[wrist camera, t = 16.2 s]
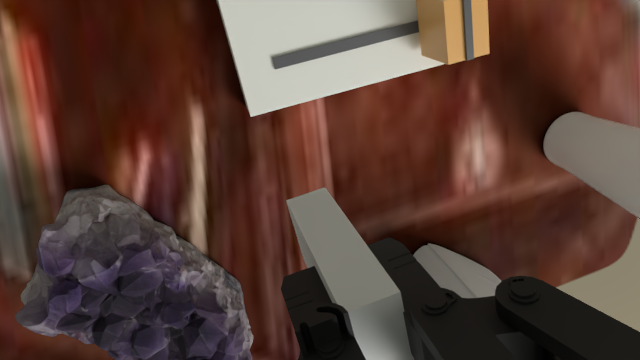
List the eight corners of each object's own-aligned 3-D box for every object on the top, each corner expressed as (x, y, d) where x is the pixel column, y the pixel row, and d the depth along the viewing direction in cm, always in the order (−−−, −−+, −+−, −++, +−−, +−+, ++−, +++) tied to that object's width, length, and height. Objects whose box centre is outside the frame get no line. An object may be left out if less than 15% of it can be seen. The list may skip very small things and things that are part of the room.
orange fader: (421, 55, 34) (450, 65, 30) (415, -2, 32) (445, 1, 29) (458, 45, 35) (491, 54, 31) (455, -12, 33) (488, -10, 29)
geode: (292, 277, 44) (309, 368, 35) (211, 348, 47) (209, 447, 38) (94, 150, 34) (53, 233, 26) (7, 249, 37) (-56, 353, 28)
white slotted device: (495, 268, 50) (582, 352, 39) (472, 300, 50) (550, 390, 40) (424, 234, 45) (499, 317, 34) (400, 269, 46) (465, 360, 35)
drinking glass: (574, 87, 43) (746, 138, 30) (606, 132, 46) (775, 196, 33) (520, 142, 44) (665, 214, 31) (555, 182, 47) (700, 264, 34)
